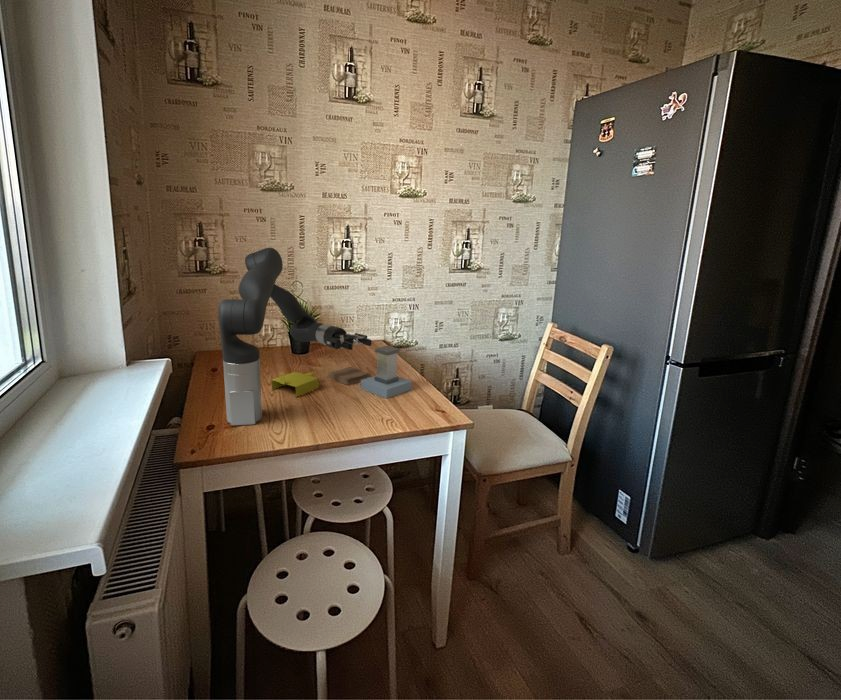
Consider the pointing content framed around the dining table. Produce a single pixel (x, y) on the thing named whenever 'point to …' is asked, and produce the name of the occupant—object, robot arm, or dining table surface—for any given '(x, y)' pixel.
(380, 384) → the stand
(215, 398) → the dining table surface
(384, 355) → the post
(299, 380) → the bracket
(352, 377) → the stand
